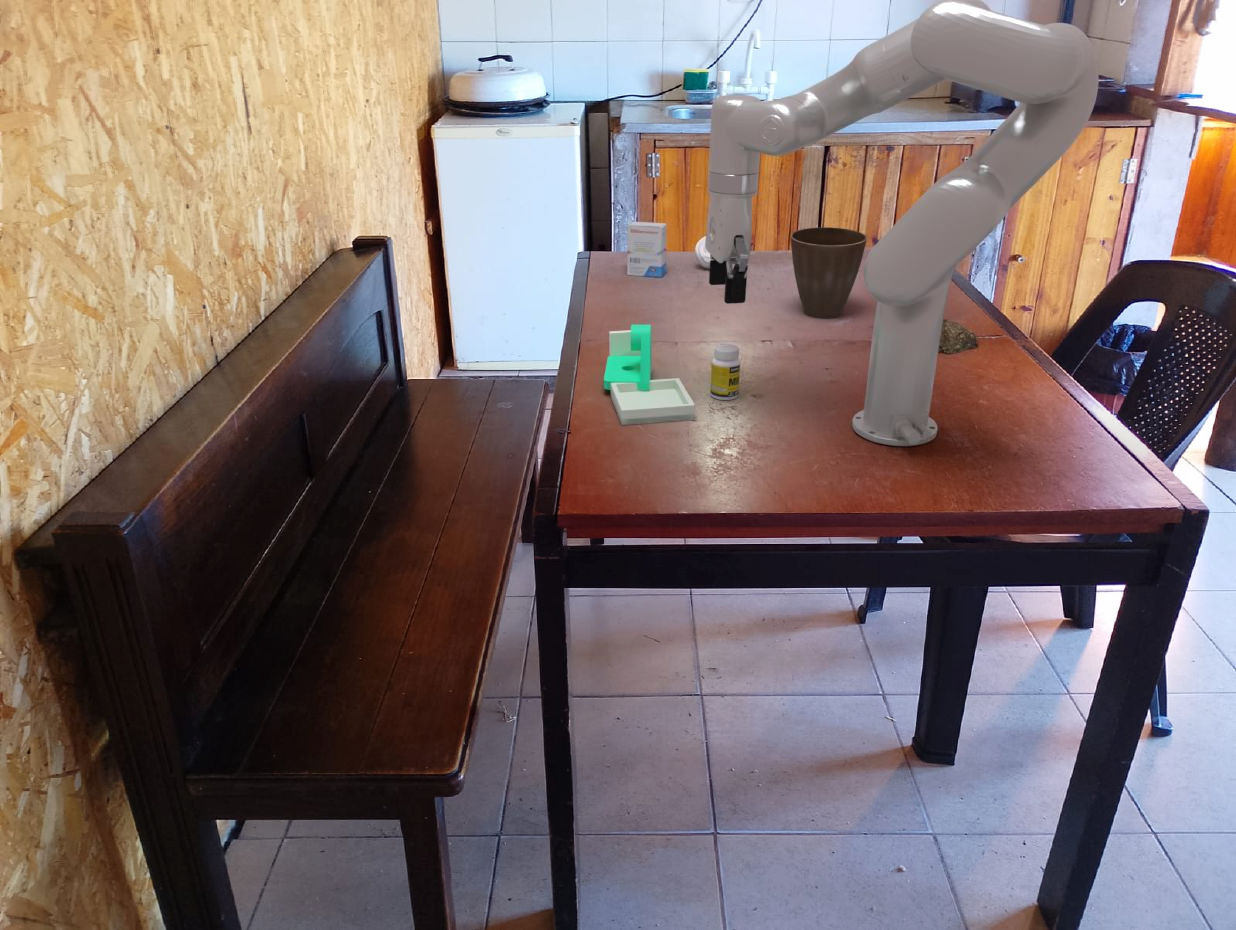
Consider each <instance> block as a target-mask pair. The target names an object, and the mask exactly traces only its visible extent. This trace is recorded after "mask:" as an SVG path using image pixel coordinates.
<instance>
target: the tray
mask: <svg viewBox="0 0 1236 930" xmlns="http://www.w3.org/2000/svg"><path fill="white" fill-rule="evenodd" d="M610 388H611V390H610V399H611V402H612V403H613V406H614V409H615V411H616V413H617V417H618V419H619V421H620V424H621V426H630V425H632V426H633V425H642V424H654V423H655V424H657V423H668V422H683V421H692V420H693V421H695V420H696V419H695V412H696V406H695V403H694V401H693V399H692V398H691V396H690V394H689V393H688V391H687V390H686V388H685V386H684V383H682V381H681V379H680V378H679V377H676V378H662V379H661V378H659V379H651V380H650V382H649V390H637V383H610Z"/></svg>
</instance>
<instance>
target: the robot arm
mask: <svg viewBox="0 0 1236 930" xmlns="http://www.w3.org/2000/svg"><path fill="white" fill-rule="evenodd" d="M946 80H948V81H950V82H954V83H956V84H959V85H962V86H965V87H969V88H972V89H976V90H979V91H982V92H985V93H989V94H992V95H995V96H997V97H1001V98H1004V99H1008V100H1011V101H1013V102H1014V101H1015V102H1018V103H1019V104H1018V105H1017V106H1016V107H1015V109H1014V110H1013V111H1012V112H1011V114H1009V115H1008V116H1007V117H1006V118H1005V120H1004V121H1003V122H1002V123H1001V124H1000V125H998V126H997V128H996V129H995V130H994V131H993V132H992V133H991V135H990V136H989V137H988V138H987V139H986V141H984V142H983V143H982V144H981V145H980V146H979V148H977V149H976V150H975V151H974V152H973V154H972V155H971V156H969V157H968V158H967V159H966V160H965V161H964V162H963V163H962V164H961V165H959V166H957V167H956V168H955V169H953V170H951V171H950V172H949V173H948V172H947V174H945V175H944V176H943V177H941V178H940V179H938V180H937V181H936V182H935V183H934V184H932V185H931V186H930V187H929V188H928V189H927V190H926V191H925V192H924V193H923V194H922V196H920V197H919V199H917V201H916V202H914V204H913V205H912V206H911V207H910V208H909V209H908V210H906V212H905V214H903V215H902V216H901V217H900V219H899V220H897V222H896V223H895V224H894V225H893V226H892V227H891V228H890V229H889V230H888V231H887V232H886V233H885V234H884V236H883V237H882V238H880V240H879V241H878V242H876V244H875V245H874V246H873V247H872V248H871V250H870V251H869V253H868V255H867V256H866V259H865V263H864V266H863V280H864V284H865V287H866V289H867V291H868V292H869V294H870V295H871V297H872V298H873V299H875V300H876V301H877V302H876V307H875V315H874V322H873V329H872V337H871V339H872V340H871V345H870V346H871V347H870V356H869V364H868V372H867V380H866V381H867V383H866V390H865V399H864V400H865V401H864V408H863V409H862V410H860V411H858V412H857V413H856V414H855V415H854V416H853V417H852V422H851V426H852V429H853V431H855V433H856V434H858V436H860V437H862V438H864V439H866V440H868V441H870V442H874V443H877V444H882V445H886V446H893V447H912V446H919V445H925V444H926V443H930V442H931V441H933V440H934V439H935V438H936V437H937V434H938V424H937V423H936V421H935V420H934V419H933V418H931V417H930V409H931V404H932V403H931V401H932V395H933V388H934V382H935V376H936V368H937V363H938V362H937V361H938V354H939V353H938V349H939V342H940V336H941V331H942V324H943V319H945V318H944V317H945V311H946V305H947V300H948V298H949V297H948V295H949V291H950V288H951V285H952V284H951V283H952V279H953V274H954V271H955V268H956V267H957V266H958V265H960V264H961V262H962V261H964V259H966V258H967V256H969V255H970V254H971V253H972V252H973V251H975V250H976V248H977V247H978V246H979V245H980V244H981V243H982V242H983V241H985V239H986V238H987V237H988V236H990V234H991V233H992V232H993V231H994V230H995V229H996V228H997V227H998V226H999V225H1000V223H1002V221H1003V219H1004V218H1005V217H1006V215H1007V214H1008V212H1010V211H1011V209H1012V208H1013V207H1014V206H1015V205H1016V204H1017V203H1018V202H1019V201H1020V200H1021V198H1022V197H1023V196H1025V195H1026V194H1027V192H1029V191H1030V189H1032V188H1033V186H1035V185H1036V184H1037V183H1038V181H1040V180H1041V178H1043V176H1044V175H1045V174H1046V173H1047V172H1049V170H1050V169H1051V168H1053V166H1054V165H1055V164H1056V163H1057V162H1058V161H1059V160H1060V159H1061V158H1062V157H1063V156H1064V155H1065V154H1066V152H1067V151H1068V150H1069V149H1070V147H1072V145H1073V144H1074V143H1075V142H1076V141H1077V139H1078V138H1079V136H1080V135H1081V134H1082V132H1083V130H1084V129H1085V127H1086V125H1087V124H1088V121H1089V119H1090V117H1091V115H1092V112H1093V110H1094V107H1095V104H1096V100H1097V95H1098V91H1099V84H1100V83H1099V80H1100V78H1099V66H1098V60H1097V56H1096V52H1095V50H1094V47H1093V44H1092V42H1091V40H1090V39H1089V37H1088V36H1087V35H1086V33H1085V32H1083V30H1082V29H1080V28H1079V27H1077V26H1076V25H1073V24H1070V23H1067V22H1066V23H1065V22H1052V23H1048V24H1041V23H1038V22H1037V23H1036V22H1034V21H1030V20H1027V19H1022V18H1019V17H1014V16H1012V15H1007V14H1004V13H1001V12H997V11H994V10H991V9H990V7H989V5H987V3H985V2H984V1H982V0H939V1H937V2H935V3H933V4H931V5H930V6H929V7H927V8H926V9H925V10H924V11H923V12H922V14H920V15H919V17H918V18H917V19H914V21H911V22H910V23H908V24H906V25H904V26H902V27H901V28H899V29H897V30H895V31H893V32H892V33H889V34H887V35H885V36H883V37H881V38H879V39H878V40H876V41H874V42H872V43H870V44H869V45H867V46H865V47H863V48H862V49H860V50H859V51H858V52H857V54H856V55H855V56H854V57H853V59H852V61H850V62H849V63H848V64H846V66H845V67H843V68H842V69H840V70H839V71H837V72H835V73H833V74H831V75H830V76H828V77H826V78H825V79H823V80H821V81H819V82H817V83H815V84H814V85H811V86H809V87H808V88H805V89H804V90H802V91H800V92H798V93H796V94H792V95H789V96H784V97H781V98H778V99H774V100H768V101H767V100H766V101H762V100H761V99H760V98H759V97H756V96H754V95H745V94H727V95H726V94H725V95H720V96H718V97H716V98H715V99H714V101H713V102H712V105H711V113H710V115H711V116H710V133H709V152H708V153H709V154H708V155H709V157H708V172H707V173H708V174H707V175H708V176H707V193H708V195H709V202H708V209H707V210H708V211H707V221H706V232H705V236H706V240H705V247H706V250H707V251H708V252H709V253H710V258H711V260H710V269H709V274H708V275H709V276H708V284H710V286H724V298H723V300H724V303H725V304H744V303H745V302H746V293H747V281H748V279H747V278H748V270H749V268H748V267H749V265H748V262H749V259H750V256H751V249H752V248H751V247H752V234H753V233H752V227H753V226H752V225H753V197H755V196H757V195H758V189H759V188H758V187H759V176H760V174H759V173H760V159H761V154H763V155H767V156H771V157H772V156H773V157H779V156H780V157H782V156H785V155H788V154H791V153H794V152H796V151H798V150H800V149H803V148H806V147H809V146H812V145H814V144H815V143H817V142H819V141H821V140H823V139H825V138H827V137H829V136H831V135H833V134H835V133H836V132H839V131H840V130H841V131H842V129H845V128H846V127H849V126H851V125H853V124H854V123H857V122H859V121H861V120H863V119H865V118H867V117H869V116H872V115H874V114H880V113H882V112H884V111H886V110H888V109H890V108H892V107H894V106H895V105H896V106H897V105H898V104H900V103H902V102H904V101H905V100H908V99H910V98H911V97H912V98H913V97H914V96H916V95H918V94H920V93H922V92H924V91H925V90H928V89H930V88H932V87H934V86H937V85H938V84H940V83H942V82H944V81H946ZM733 265H734V266H733Z"/></svg>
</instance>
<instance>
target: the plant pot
mask: <svg viewBox="0 0 1236 930" xmlns="http://www.w3.org/2000/svg"><path fill="white" fill-rule="evenodd" d="M867 240H868V237H867V235H866V234H865V233H863V232H860V231H857V230H854V229H848V228H841V227H809V228H803V229H798V230H795V231H793V232H792V233H791V234H790V244H791V256H792V265H793V272H794V278H795V282H796V287H797V292H798V296H799V299H800V302H801V306H802V309H803V312H804V314H805V315H806V316H808V317H811V316H812V318H817V319H833V318H836V317H838V316H840V315H841V313H842V311H843V309H844V308H845V305H846V303H847V301H848V299H849V297H850V296H851V295H850V294H851V292H852V289H853V287H854V285H855V282H856V279H857V275H858V273H859V270H860V267H861V263H862V260H863V256H864V253H865V247H866V244H867Z"/></svg>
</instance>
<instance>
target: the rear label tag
mask: <svg viewBox="0 0 1236 930" xmlns="http://www.w3.org/2000/svg"><path fill="white" fill-rule="evenodd" d="M608 332H609V333H608V335H609V336H608V340H609V341H608V342H609V343H608V344H609V349H608V350H609V356H641V351H631V329H630V330H615V331H613V330H611V331H608Z"/></svg>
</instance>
